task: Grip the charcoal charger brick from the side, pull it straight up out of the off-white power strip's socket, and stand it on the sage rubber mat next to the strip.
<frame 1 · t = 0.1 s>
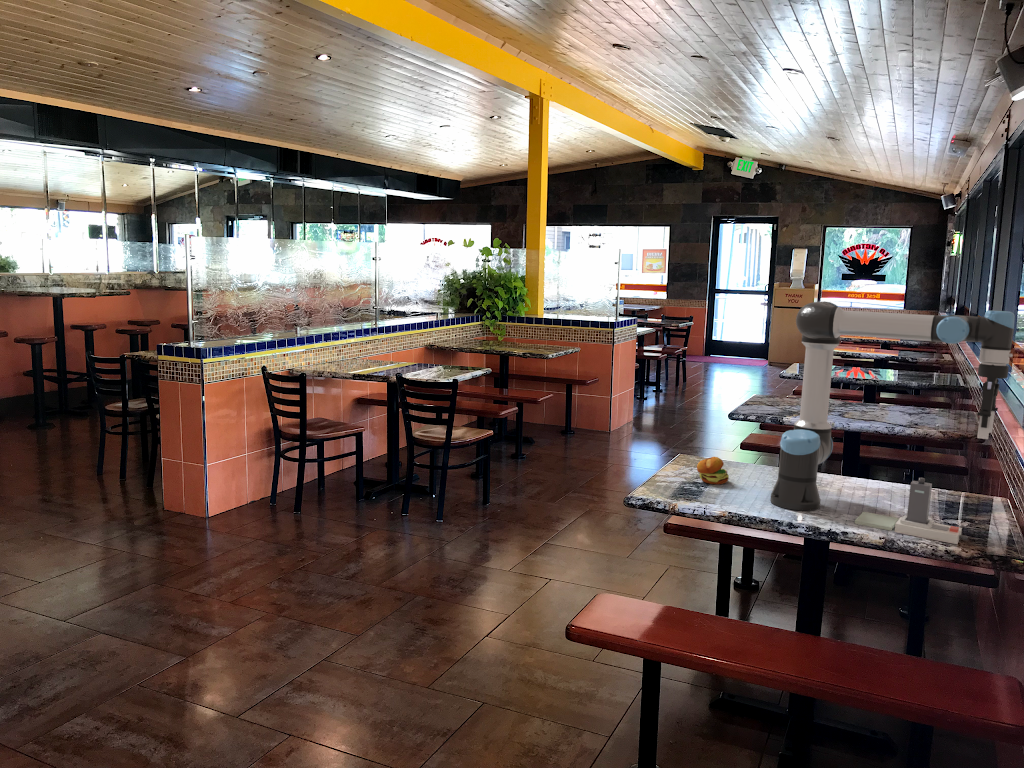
hand: (984, 435, 233), 28 cm above the table, fingers open, 13 cm apart
cheeseburger: (712, 482, 279), on the table
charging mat: (876, 522, 237), on the table
charger: (917, 523, 229), point 2 cm above the table, touching power strip
power strip: (927, 534, 228), on the table
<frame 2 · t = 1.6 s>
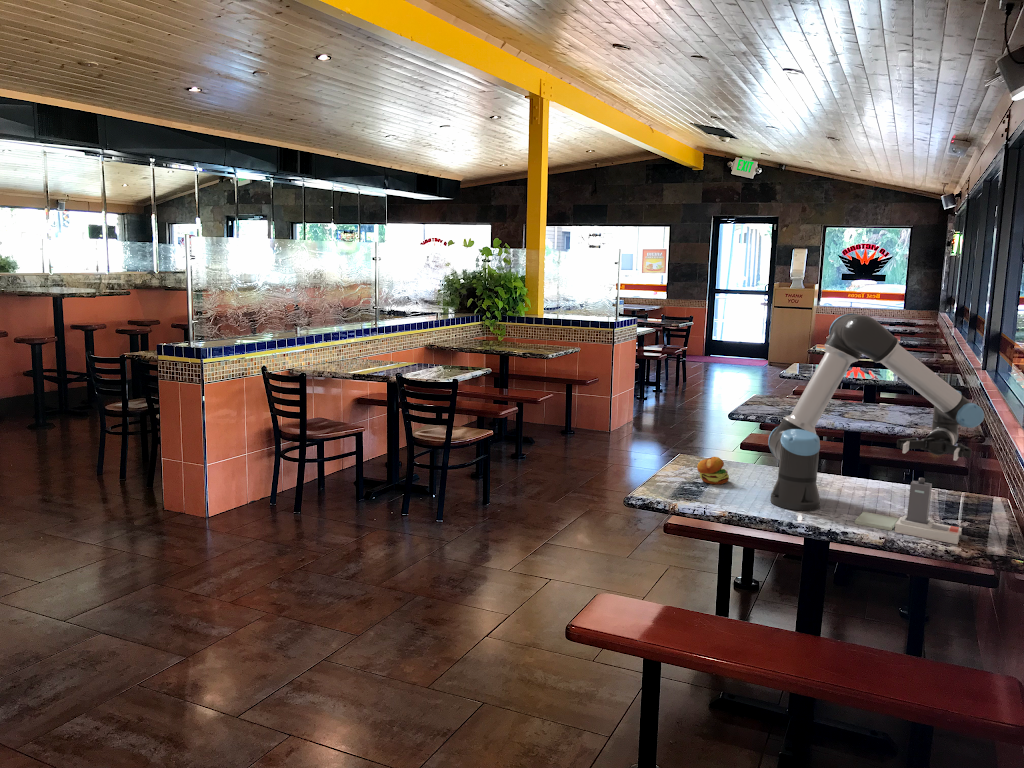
hand: (929, 452, 234), 22 cm above the table, fingers open, 13 cm apart
nothing on the table moved.
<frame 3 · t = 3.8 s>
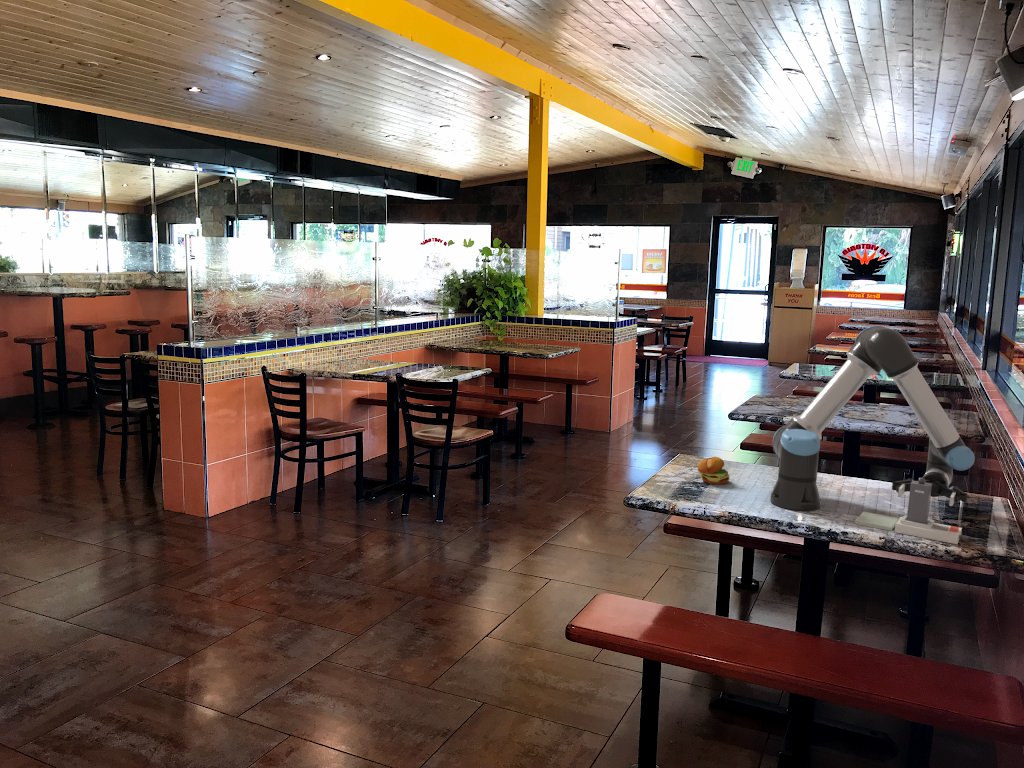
hand: (925, 497, 232), 9 cm above the table, fingers open, 13 cm apart
nothing on the table moved.
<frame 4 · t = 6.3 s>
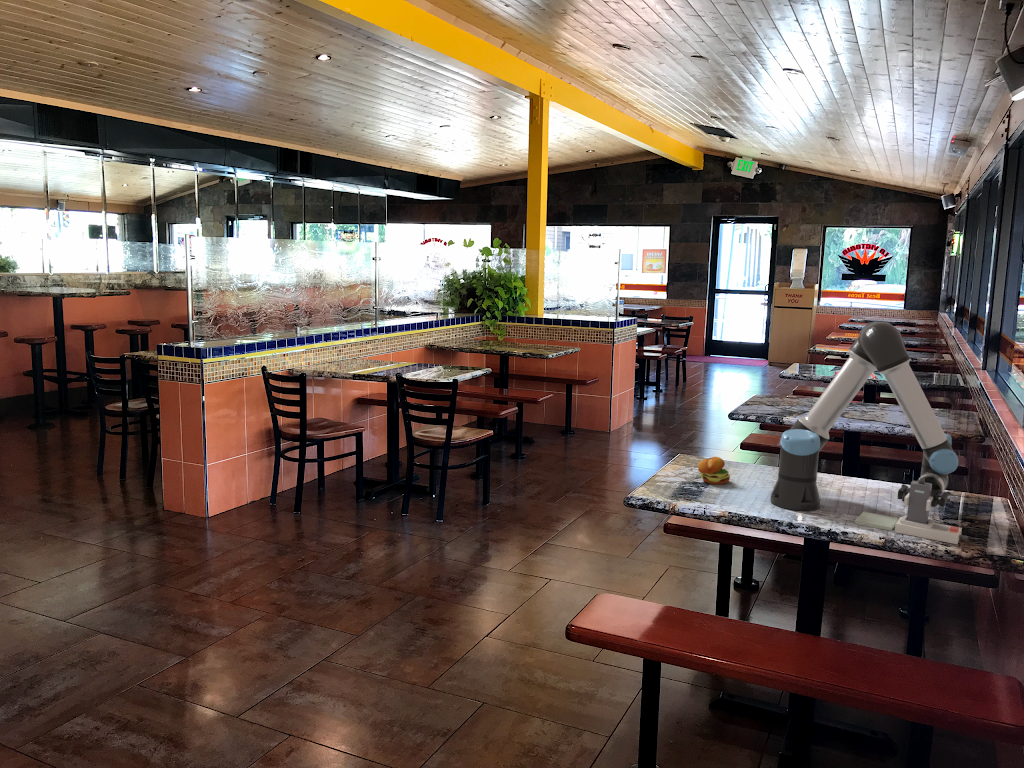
hand: (916, 504, 224), 9 cm above the table, fingers closed on charger, 5 cm apart
charger: (917, 523, 229), point 2 cm above the table, touching gripper, power strip
everything else where it was.
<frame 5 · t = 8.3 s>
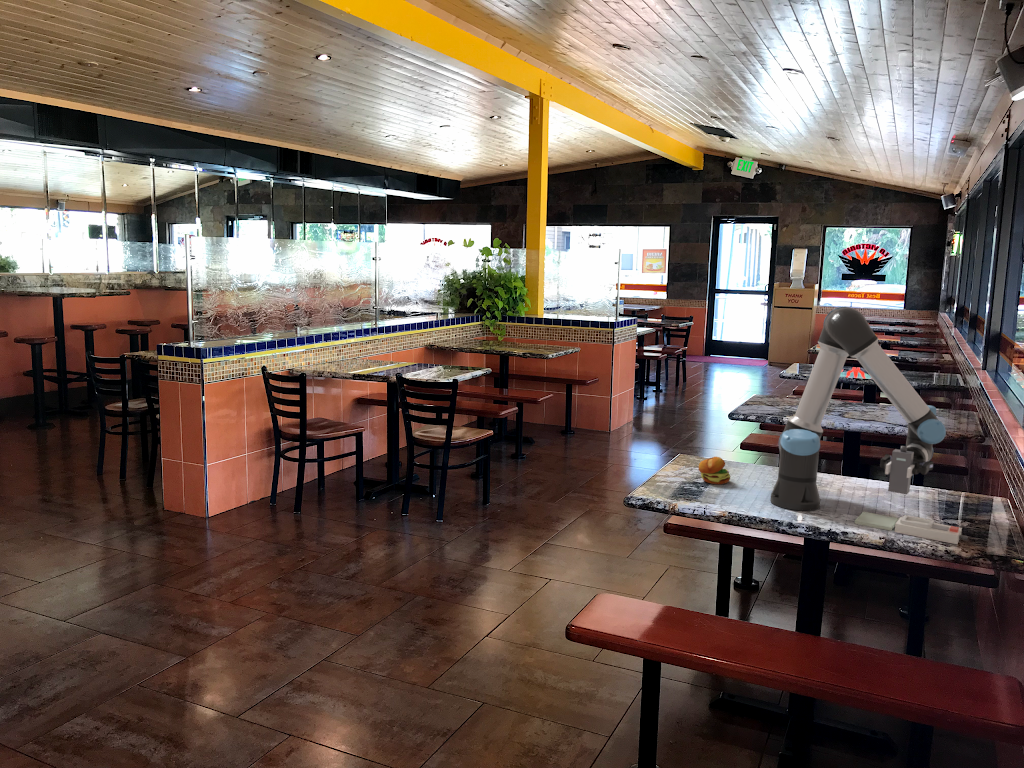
hand: (897, 471, 227), 18 cm above the table, fingers closed on charger, 5 cm apart
charger: (898, 491, 232), point 11 cm above the table, touching gripper
everything else where it was.
when the fingers open (10 cm above the table, at t = 10.5 s): charger drops 2 cm, resting on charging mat.
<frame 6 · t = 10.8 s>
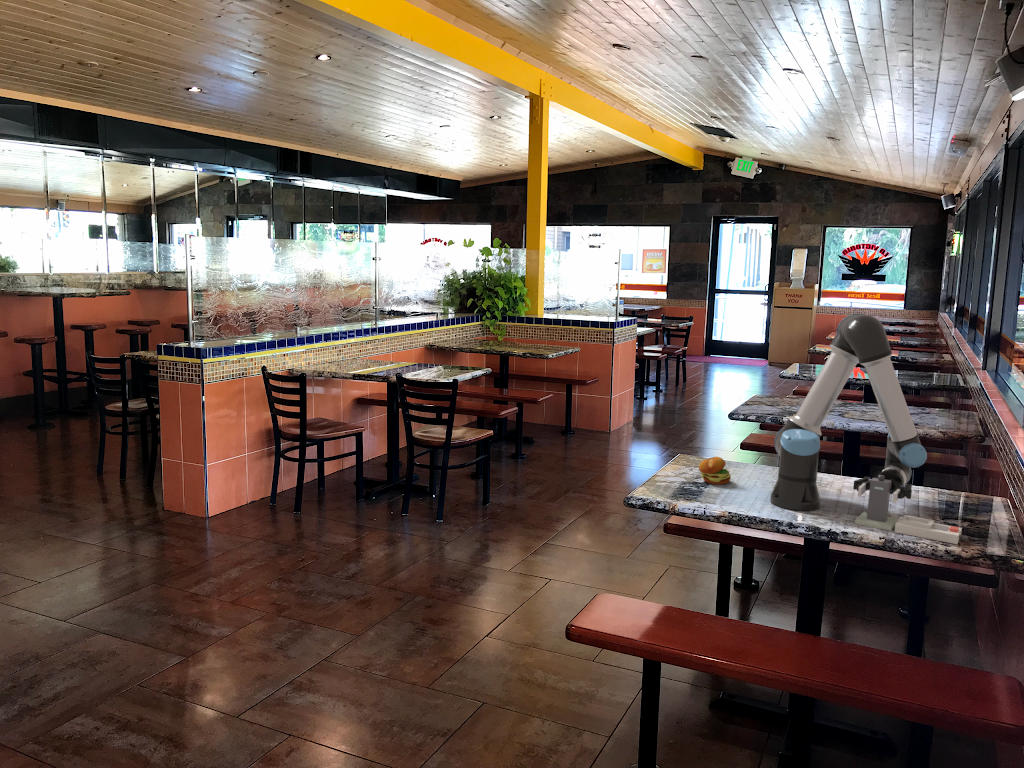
hand: (876, 494, 232), 10 cm above the table, fingers open, 9 cm apart
charger: (877, 519, 237), point 1 cm above the table, touching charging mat
everything else where it was.
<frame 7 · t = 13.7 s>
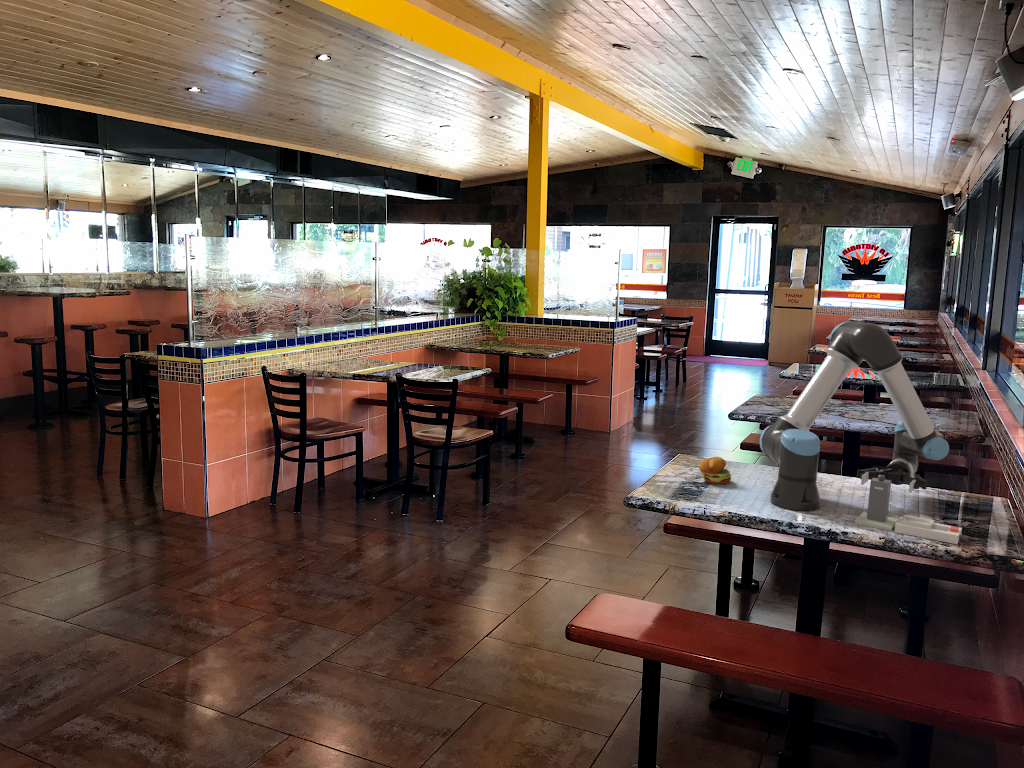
hand: (886, 484, 244), 10 cm above the table, fingers open, 13 cm apart
nothing on the table moved.
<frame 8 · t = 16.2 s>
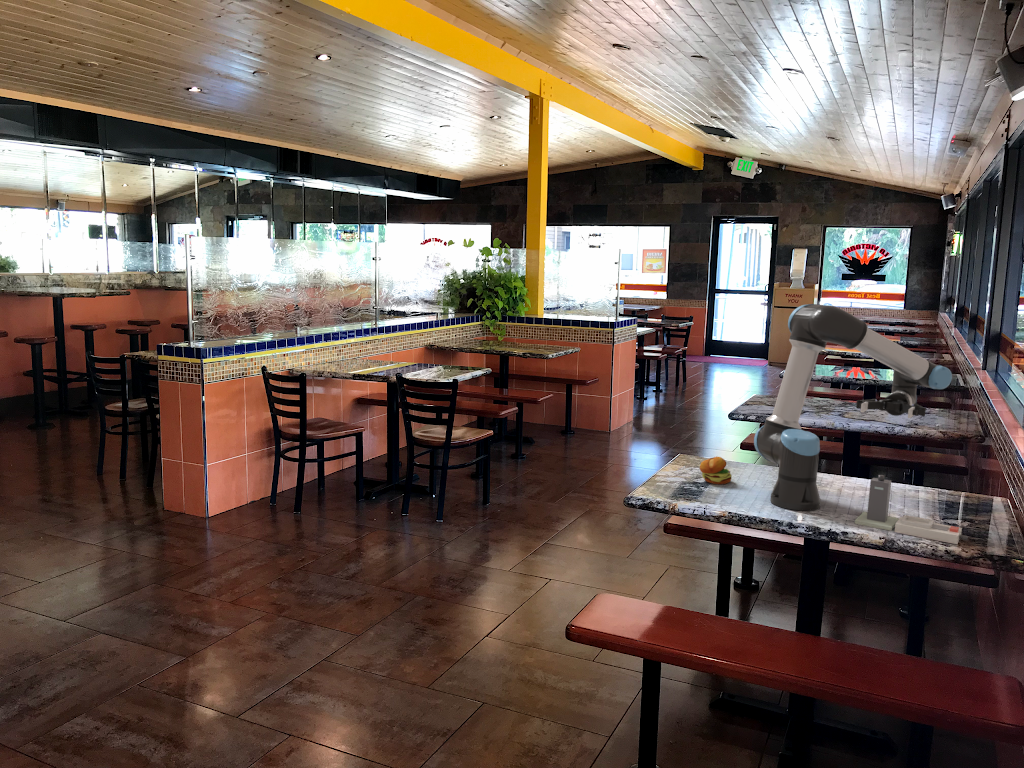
hand: (885, 410, 246), 32 cm above the table, fingers open, 13 cm apart
at the end: charger inside the target area (0.1 cm from its centre), point 1.0 cm above the table; charger tilted 0°; the gripper is holding nothing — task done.
